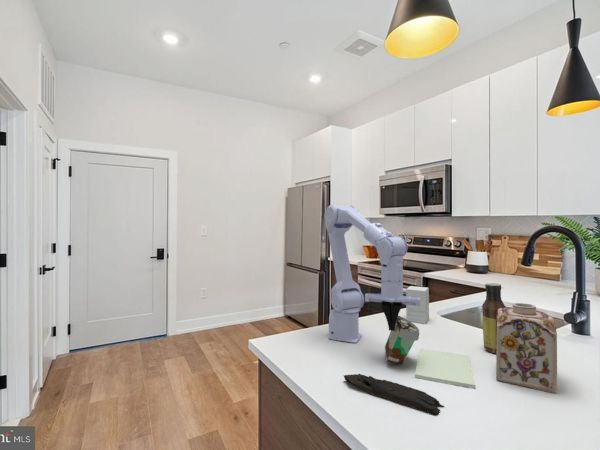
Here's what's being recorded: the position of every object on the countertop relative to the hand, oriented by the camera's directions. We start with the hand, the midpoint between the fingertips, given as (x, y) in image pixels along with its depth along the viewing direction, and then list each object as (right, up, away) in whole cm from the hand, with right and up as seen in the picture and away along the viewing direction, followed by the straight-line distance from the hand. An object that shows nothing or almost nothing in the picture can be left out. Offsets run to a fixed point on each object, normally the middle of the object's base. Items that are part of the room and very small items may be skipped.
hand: (392, 329), depth 88 cm
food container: (+1, -8, 0) cm, 8 cm away
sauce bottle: (+32, -9, +6) cm, 34 cm away
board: (+12, -9, -4) cm, 16 cm away
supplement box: (+21, -9, +37) cm, 43 cm away
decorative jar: (+30, -9, -10) cm, 32 cm away
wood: (-5, -9, -17) cm, 20 cm away
